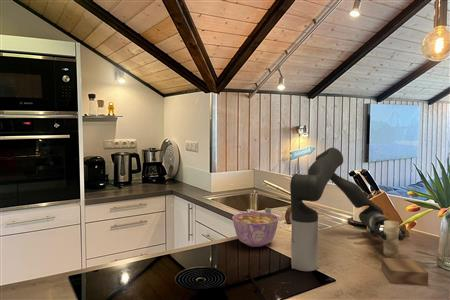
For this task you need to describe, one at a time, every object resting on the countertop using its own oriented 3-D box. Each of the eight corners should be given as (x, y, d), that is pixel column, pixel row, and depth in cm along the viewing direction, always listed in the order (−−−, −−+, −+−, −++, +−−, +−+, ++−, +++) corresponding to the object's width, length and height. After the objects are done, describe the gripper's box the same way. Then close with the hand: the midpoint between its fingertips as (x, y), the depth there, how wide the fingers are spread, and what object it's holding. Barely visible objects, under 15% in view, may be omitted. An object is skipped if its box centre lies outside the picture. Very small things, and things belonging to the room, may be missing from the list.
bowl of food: (260, 255, 136) (260, 226, 135) (222, 244, 150) (222, 218, 149) (287, 242, 151) (287, 216, 150) (251, 233, 164) (251, 209, 164)
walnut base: (390, 282, 112) (391, 270, 111) (381, 268, 122) (381, 257, 122) (428, 285, 110) (428, 272, 109) (415, 270, 120) (415, 259, 120)
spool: (385, 256, 127) (386, 223, 126) (381, 251, 132) (382, 220, 131) (400, 256, 126) (401, 224, 126) (395, 251, 131) (396, 220, 131)
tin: (298, 218, 191) (298, 203, 191) (303, 219, 189) (303, 203, 189) (284, 224, 180) (284, 208, 179) (289, 225, 178) (289, 209, 177)
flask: (266, 225, 177) (266, 206, 176) (278, 228, 172) (278, 208, 171) (257, 228, 172) (257, 209, 171) (269, 231, 167) (269, 211, 166)
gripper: (362, 215, 144) (372, 226, 127) (399, 216, 142) (415, 228, 125) (362, 233, 144) (372, 246, 128) (399, 234, 142) (414, 248, 125)
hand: (393, 237), depth 126 cm, fingers closed on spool, 5 cm apart
